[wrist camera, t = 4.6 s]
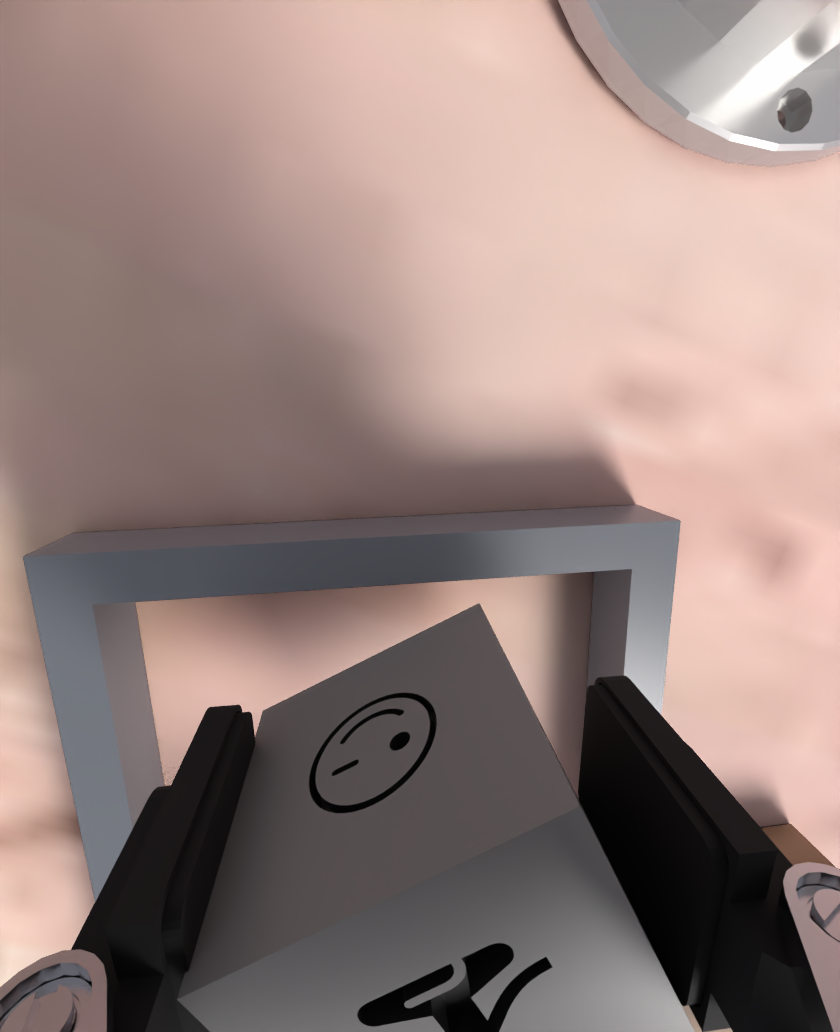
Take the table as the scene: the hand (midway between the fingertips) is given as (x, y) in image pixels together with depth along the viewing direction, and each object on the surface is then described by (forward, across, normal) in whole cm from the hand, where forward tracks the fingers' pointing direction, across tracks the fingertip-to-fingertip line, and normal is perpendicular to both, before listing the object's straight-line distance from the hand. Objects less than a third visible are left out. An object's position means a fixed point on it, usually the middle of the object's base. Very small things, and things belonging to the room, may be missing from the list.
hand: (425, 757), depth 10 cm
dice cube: (+1, 0, +1) cm, 1 cm away
